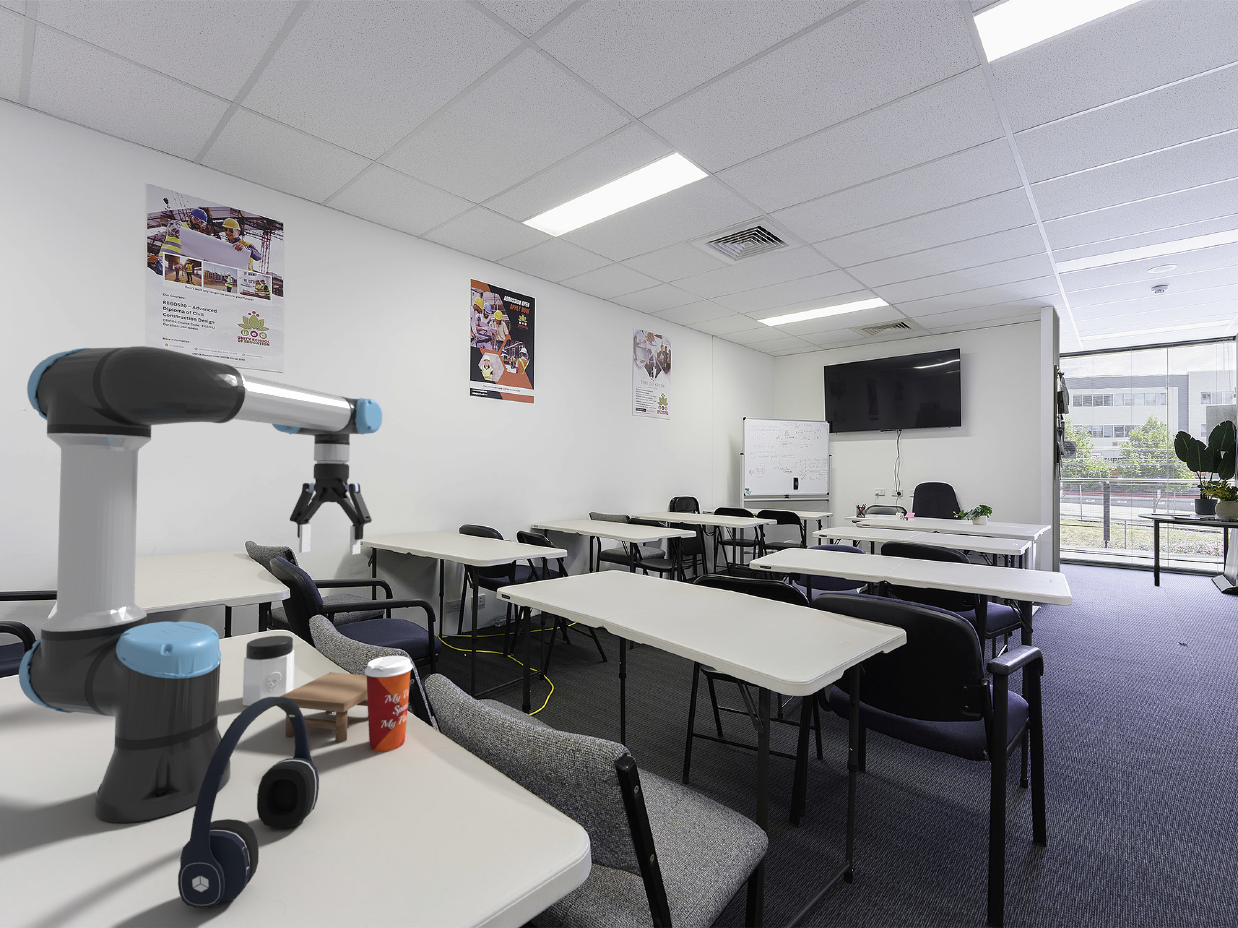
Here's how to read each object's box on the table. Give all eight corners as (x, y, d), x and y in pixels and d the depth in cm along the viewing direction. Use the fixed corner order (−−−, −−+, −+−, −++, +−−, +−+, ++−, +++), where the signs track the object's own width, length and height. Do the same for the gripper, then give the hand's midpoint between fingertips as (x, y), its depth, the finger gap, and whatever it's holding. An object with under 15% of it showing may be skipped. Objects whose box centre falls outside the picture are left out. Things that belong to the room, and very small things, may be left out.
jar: (247, 711, 109) (248, 649, 109) (238, 699, 115) (240, 640, 115) (298, 699, 115) (300, 640, 115) (288, 688, 121) (289, 632, 121)
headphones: (231, 922, 57) (236, 741, 58) (161, 924, 57) (167, 742, 58) (326, 808, 77) (329, 674, 78) (275, 809, 77) (278, 674, 78)
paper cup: (394, 756, 92) (396, 670, 92) (352, 751, 93) (354, 666, 94) (420, 735, 99) (421, 655, 100) (381, 731, 101) (383, 652, 101)
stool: (342, 744, 96) (343, 703, 96) (277, 737, 98) (278, 696, 98) (388, 713, 108) (389, 677, 109) (329, 707, 111) (330, 672, 111)
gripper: (388, 463, 134) (386, 552, 133) (298, 463, 139) (296, 549, 138) (368, 462, 127) (366, 556, 126) (274, 462, 132) (271, 552, 131)
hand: (329, 553), depth 132 cm, fingers open, 13 cm apart
